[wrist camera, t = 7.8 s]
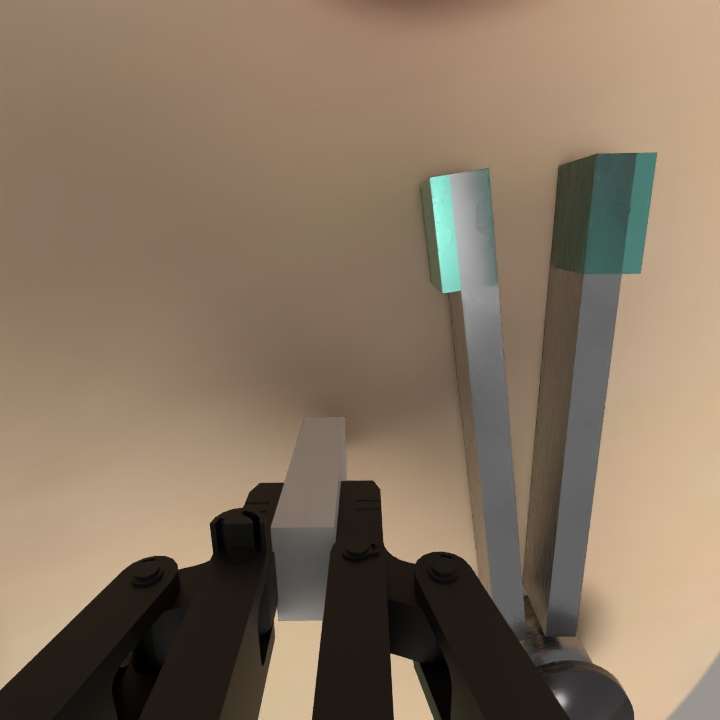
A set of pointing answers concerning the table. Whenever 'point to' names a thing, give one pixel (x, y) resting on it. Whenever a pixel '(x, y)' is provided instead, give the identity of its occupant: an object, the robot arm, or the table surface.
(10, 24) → the table surface
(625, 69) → the table surface
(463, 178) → the bar
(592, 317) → the tongs fixed
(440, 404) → the table surface
